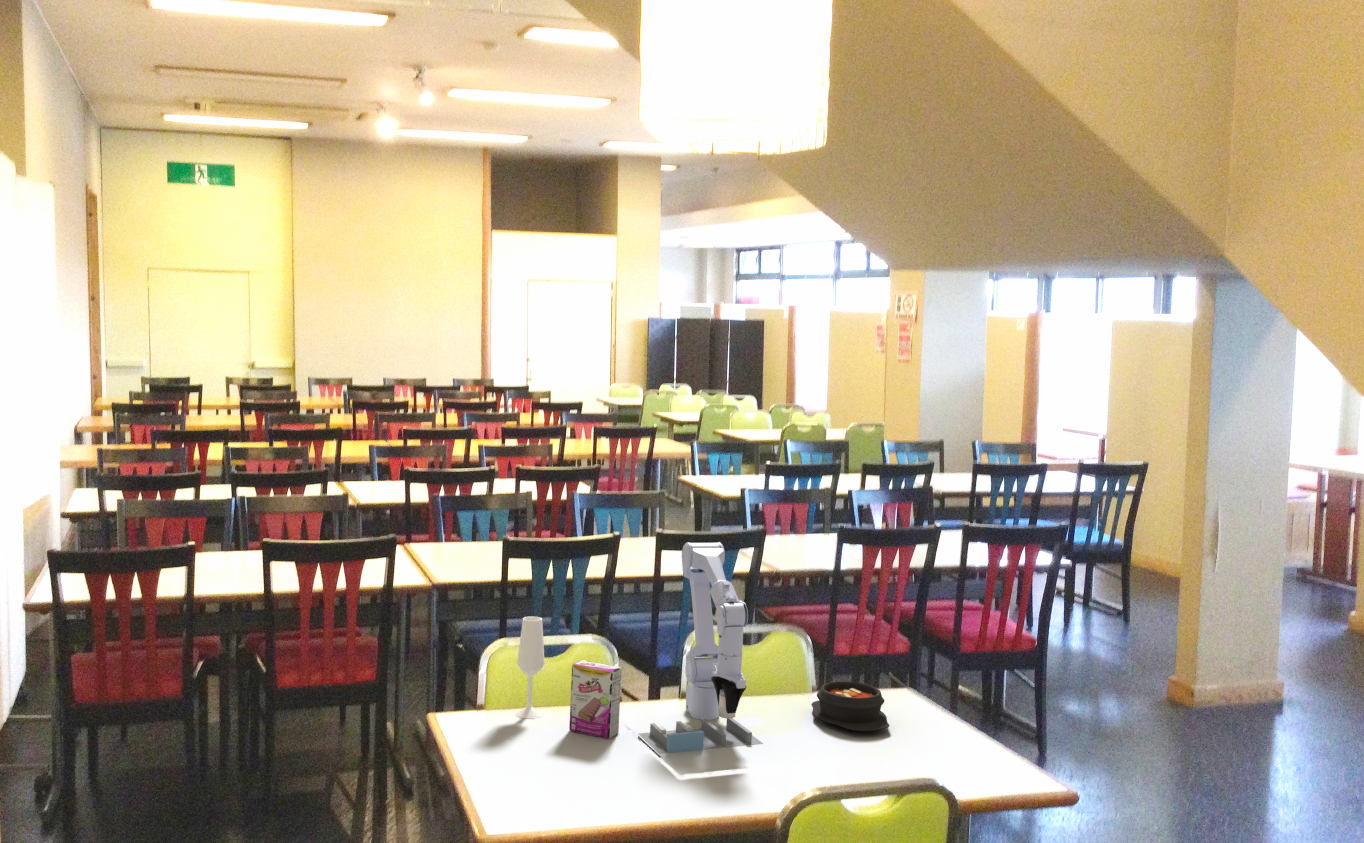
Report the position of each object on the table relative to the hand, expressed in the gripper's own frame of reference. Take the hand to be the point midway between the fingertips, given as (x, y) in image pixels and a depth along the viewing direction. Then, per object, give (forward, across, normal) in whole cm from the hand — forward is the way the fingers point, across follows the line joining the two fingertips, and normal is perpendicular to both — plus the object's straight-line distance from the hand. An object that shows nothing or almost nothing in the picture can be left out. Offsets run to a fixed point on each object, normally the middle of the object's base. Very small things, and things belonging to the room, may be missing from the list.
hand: (727, 709), depth 285 cm
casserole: (+8, -5, +36) cm, 38 cm away
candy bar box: (+8, -13, -29) cm, 32 cm away
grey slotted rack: (+7, 0, -7) cm, 10 cm away
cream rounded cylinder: (+1, 0, 0) cm, 1 cm away
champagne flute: (+8, -30, -40) cm, 51 cm away
